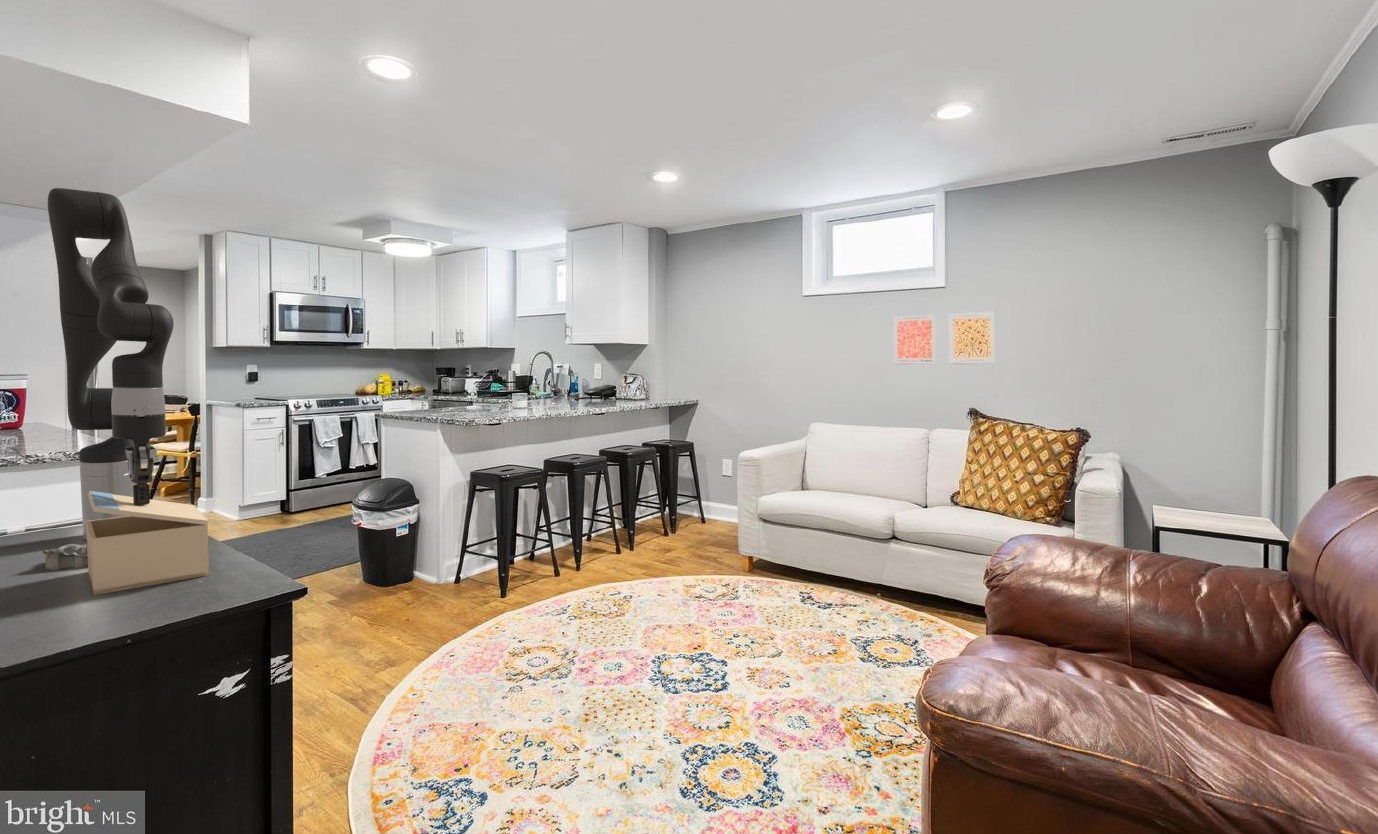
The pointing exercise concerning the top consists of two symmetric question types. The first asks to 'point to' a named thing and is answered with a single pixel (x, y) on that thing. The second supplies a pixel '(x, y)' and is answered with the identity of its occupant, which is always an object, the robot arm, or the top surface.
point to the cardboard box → (144, 552)
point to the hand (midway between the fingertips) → (141, 504)
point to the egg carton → (67, 557)
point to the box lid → (145, 508)
